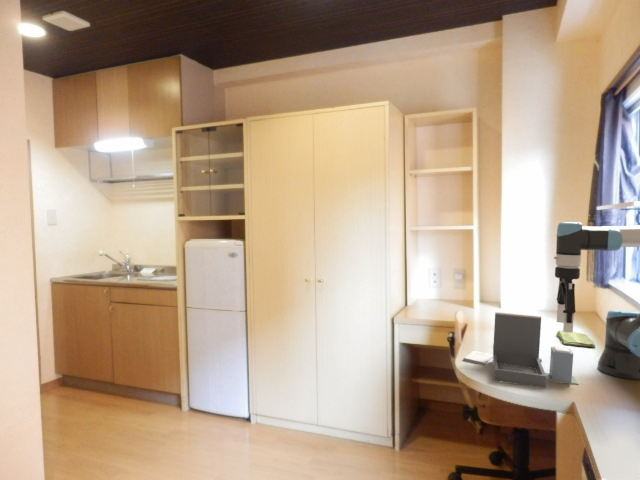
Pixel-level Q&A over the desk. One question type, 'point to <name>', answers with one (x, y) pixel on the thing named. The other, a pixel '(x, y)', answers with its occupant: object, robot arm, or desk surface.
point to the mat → (561, 381)
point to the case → (518, 348)
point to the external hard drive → (478, 357)
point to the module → (561, 364)
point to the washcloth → (575, 339)
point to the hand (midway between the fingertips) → (564, 327)
